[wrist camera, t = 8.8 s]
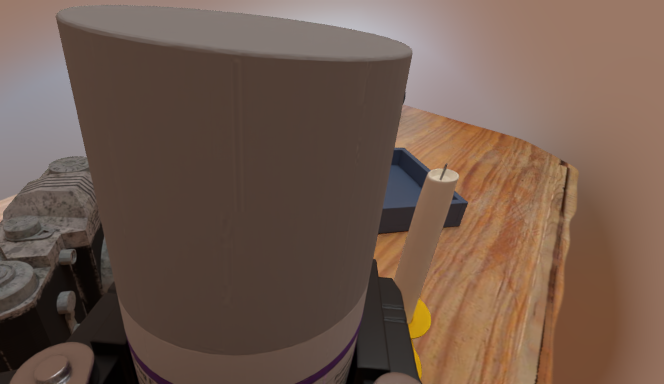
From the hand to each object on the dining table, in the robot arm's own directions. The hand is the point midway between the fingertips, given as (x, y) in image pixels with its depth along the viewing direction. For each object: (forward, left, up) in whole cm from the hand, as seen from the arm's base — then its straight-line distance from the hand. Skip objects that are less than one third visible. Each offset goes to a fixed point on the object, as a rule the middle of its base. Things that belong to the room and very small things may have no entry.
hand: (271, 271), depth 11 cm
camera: (+10, -13, -14) cm, 22 cm away
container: (+1, +3, -8) cm, 9 cm away
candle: (-9, -4, -14) cm, 18 cm away
